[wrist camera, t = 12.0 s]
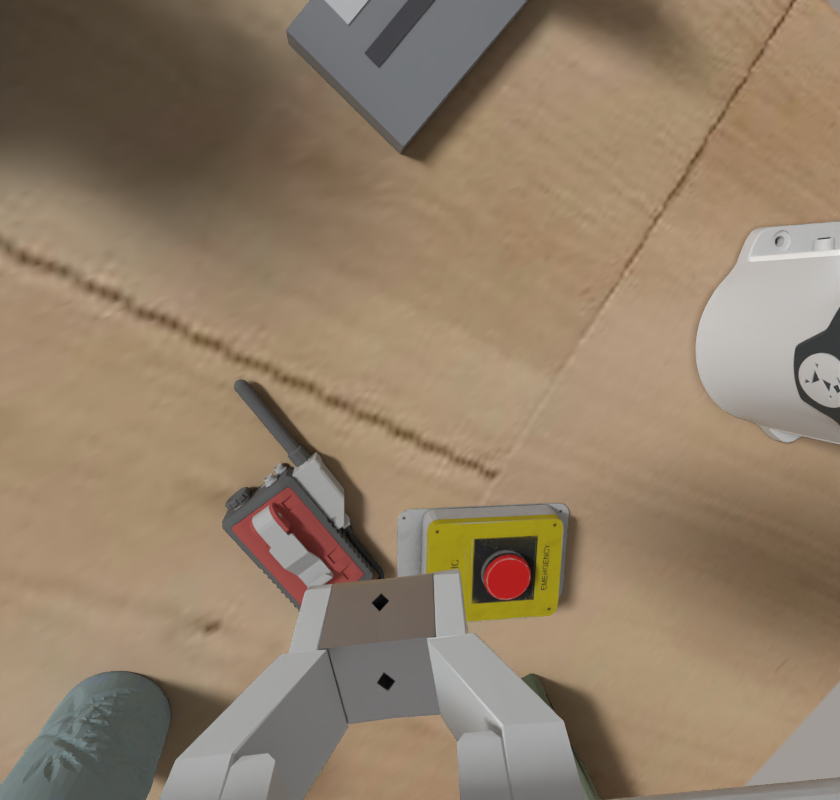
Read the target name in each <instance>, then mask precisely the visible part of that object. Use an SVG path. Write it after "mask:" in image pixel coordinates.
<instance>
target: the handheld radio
mask: <svg viewBox="0 0 840 800" xmlns="http://www.w3.org/2000/svg"><path fill="white" fill-rule="evenodd" d="M521 679H522V680H523V681H524V682H525V683H526V684H527V685H528V686H529V687H530V688H531V689H532V690H533V691H534V692H535V693H536V694H537V695H538V696H539V697H540V698H541V699H542V700H543V701H544V702H545V703H546V704H547V705H548V706H549V707H550V708H551V709H552V710H553V711H554V708H553V706H552V704H551V702H550V700H549V698H548V696H547V694H546V693H545V691H544V689H543V687H542V685H541V683H540V681H539V679H538V677H537V676H536V675H535V674H529V675H527V676H525V677H523V678H521ZM554 712H555V711H554ZM555 713H556V712H555ZM569 742H570V741H569ZM570 746H571V749H572V753H573V757H574V760H575V764H576V767H577V771H578V775H579V778H580V782H581V786H582V789H583V793H584V797H585V800H601V799H600V797H599V794H598V792H597V790H596V788H595V786H594V784H593V782H592V780H591V778H590V776H589V774H588V772H587V770H586V768H585V765H584V763H583V762H581V761H580V759H579V757H578V755H577V753H576V751H575V750H574V749H573V747H572V745H571V743H570Z"/></svg>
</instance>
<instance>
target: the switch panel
mask: <svg viewBox="0 0 840 800" xmlns="http://www.w3.org/2000/svg"><path fill="white" fill-rule="evenodd" d="M528 1H529V0H310V1H309V2H308V4H307V5H306V6H305V7H304V9H303V10H302V11H301V12H300V14H299V15H298V16H297V17H296V18H295V20H294V21H293V22H292V23H291V25H290V26H289V27H288V28H287V30H286V32H287V37H288V42H289V45H290V46H291V47H292V48H293V49H294V50H295V51H296V52H297V53H298V54H299V55H300V56H301V57H303V58H304V59H305V60H306V61H307V62H308V63H309V64H310V65H311V66H312V67H313V68H314V69H315V70H316V71H317V72H318V73H319V74H320V75H321V76H322V77H323V78H324V79H325V80H326V81H327V82H328V83H329V84H330V85H331V86H332V87H333V88H334V89H335V90H336V91H337V92H338V93H339V94H340V95H341V96H342V97H343V98H344V99H345V100H346V101H347V102H348V103H349V104H350V105H351V106H352V107H353V108H354V109H355V110H356V111H357V112H358V113H359V114H360V115H361V116H362V117H363V118H364V119H365V120H366V121H367V122H368V123H369V124H370V125H371V126H372V127H373V128H374V129H375V130H376V131H377V132H378V133H379V134H380V135H381V136H382V137H383V138H384V139H385V140H386V141H387V142H388V143H389V144H390V145H391V146H393V147H394V148H395V149H396V150H397V151H398V152H399V153H400V154H401V152H402V151H403V150H404V149H405V148H406V146H407V145H408V144H409V143H410V142H411V141H412V139H413V138H414V137H415V136H416V135H417V133H418V132H419V131H420V130H421V129H422V127H423V126H424V125H425V124H426V123H427V121H428V120H429V119H430V118H431V117H432V116H433V114H434V113H435V112H436V111H437V110H438V108H439V107H440V106H441V105H442V104H443V102H444V101H445V100H446V99H447V98H448V96H449V95H450V94H451V93H452V92H453V91H454V89H455V88H456V87H457V86H458V85H459V83H460V82H461V81H462V80H463V79H464V77H465V76H466V75H467V74H468V73H469V71H470V70H471V69H472V68H473V67H474V66H475V64H476V63H477V62H478V61H479V60H480V58H481V57H482V56H483V55H484V54H485V52H486V51H487V50H488V49H489V48H490V46H491V45H492V44H493V43H494V42H495V41H496V39H497V38H498V37H499V36H500V35H501V33H502V32H503V31H504V30H505V29H506V27H507V26H508V25H509V24H510V23H511V21H512V20H513V19H514V18H515V17H516V16H517V14H518V13H519V12H520V11H521V10H522V8H523V7H524V6H525V5H526V4H527V2H528Z"/></svg>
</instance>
